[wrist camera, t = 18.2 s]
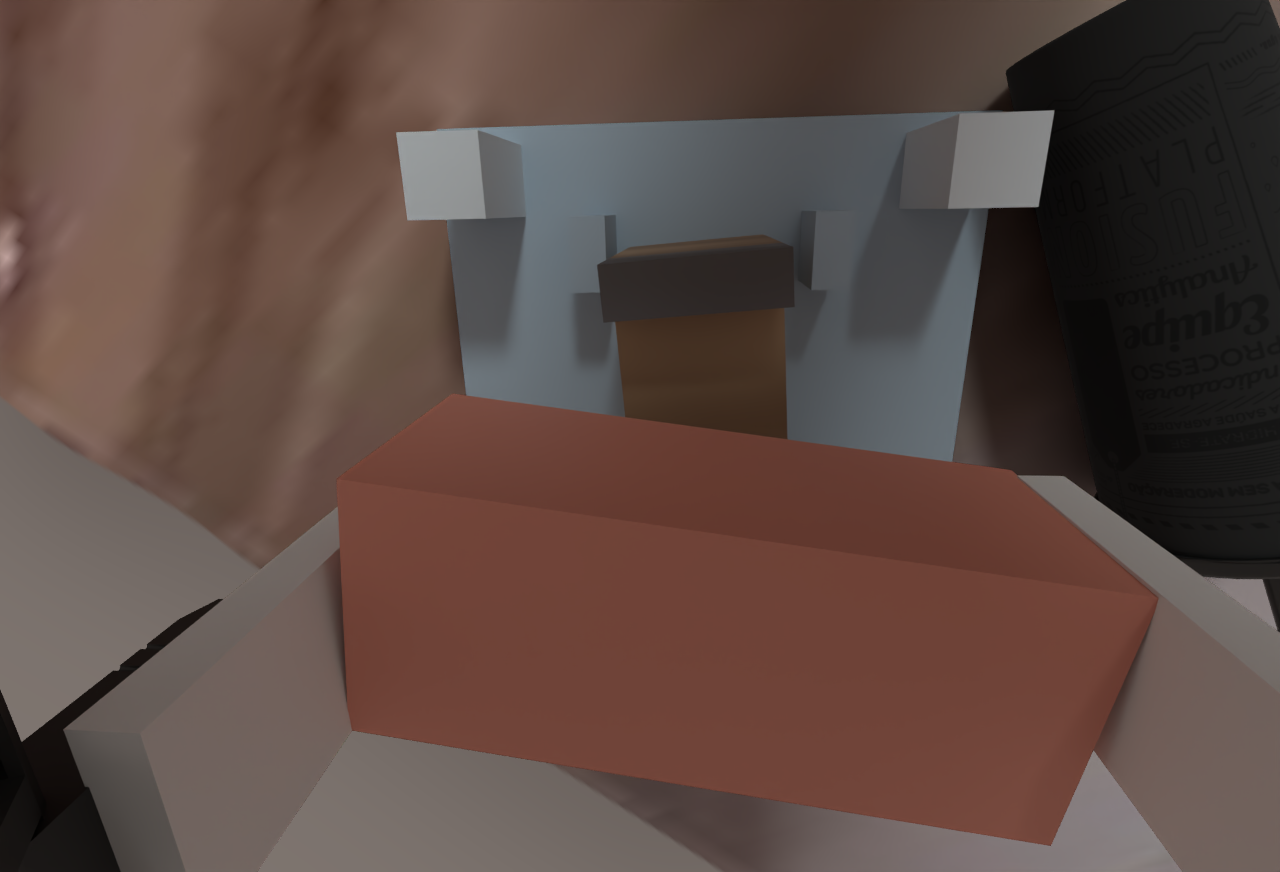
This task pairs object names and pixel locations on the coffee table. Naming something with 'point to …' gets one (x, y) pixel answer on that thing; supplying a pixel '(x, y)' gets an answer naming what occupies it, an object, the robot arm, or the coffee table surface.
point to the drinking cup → (1171, 267)
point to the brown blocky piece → (703, 331)
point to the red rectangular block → (732, 614)
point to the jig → (732, 207)
